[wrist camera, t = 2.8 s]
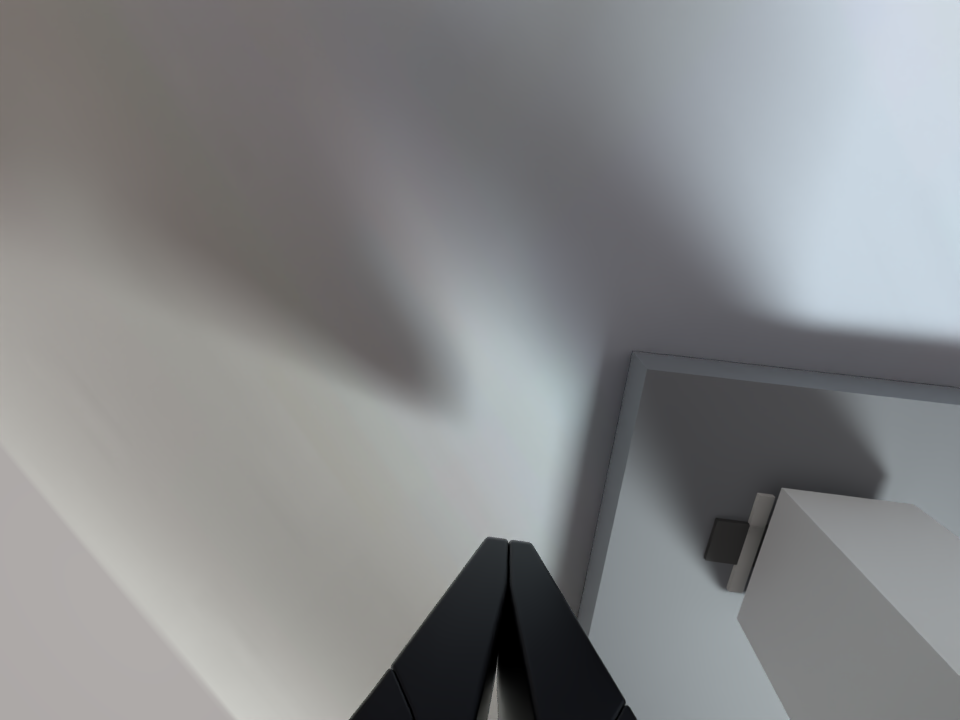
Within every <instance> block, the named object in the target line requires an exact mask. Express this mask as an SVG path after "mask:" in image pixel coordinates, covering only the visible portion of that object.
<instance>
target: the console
mask: <svg viewBox="0 0 960 720" xmlns="http://www.w3.org/2000/svg"><path fill="white" fill-rule="evenodd" d="M781 488H788V489H796V490H804V491H812V492H820V493H827V494H835V495H843V496H851V497H859V498H867V499H875V500H883V501H891V502H898V503H906V504H914V505H915V506H917V507H918V508H919V509H921V510H922V511H923V512H925V513H926V514H927V515H929V516H930V517H931V518H933V519H934V520H935V521H937V522H938V523H939V524H941V525H942V526H943V527H945V528H946V529H947V530H949V531H950V532H951V533H953V534H954V535H956V536H957V537H958V538H960V388H954V387H945V386H937V385H928V384H919V383H910V382H901V381H893V380H884V379H875V378H866V377H857V376H848V375H840V374H831V373H822V372H813V371H804V370H796V369H787V368H778V367H769V366H760V365H751V364H743V363H734V362H725V361H716V360H707V359H699V358H690V357H681V356H672V355H663V354H655V353H646V352H637V351H633V352H632V357H631V362H630V366H629V371H628V376H627V381H626V386H625V391H624V396H623V400H622V405H621V410H620V415H619V420H618V425H617V430H616V434H615V439H614V444H613V449H612V454H611V459H610V464H609V468H608V473H607V478H606V483H605V488H604V493H603V497H602V502H601V507H600V512H599V517H598V522H597V527H596V531H595V536H594V541H593V546H592V551H591V556H590V561H589V565H588V570H587V575H586V580H585V585H584V590H583V595H582V599H581V604H580V609H579V614H578V619H577V620H578V622H579V623H580V625H581V627H582V628H583V630H584V632H585V633H586V635H587V637H588V638H589V640H590V642H591V643H592V645H593V647H594V648H595V650H596V652H597V653H598V655H599V657H600V658H601V660H602V662H603V663H604V665H605V667H606V668H607V670H608V672H609V673H610V675H611V677H612V678H613V680H614V682H615V683H616V685H617V687H618V688H619V690H620V692H621V693H622V695H623V697H624V698H625V700H626V705H628V706H630V708H631V710H632V711H633V713H634V715H635V716H636V718H637V720H790V718H789V716H788V715H787V713H786V711H785V709H784V707H783V705H782V703H781V701H780V699H779V698H778V696H777V694H776V692H775V690H774V688H773V686H772V684H771V682H770V681H769V679H768V677H767V675H766V673H765V671H764V669H763V667H762V665H761V663H760V662H759V660H758V658H757V656H756V654H755V652H754V650H753V648H752V646H751V645H750V643H749V641H748V639H747V637H746V635H745V633H744V631H743V629H742V628H741V626H740V624H739V622H738V620H737V616H738V613H739V610H740V607H741V604H742V601H743V598H744V596H745V593H746V590H747V587H748V584H749V581H750V578H751V575H752V572H753V569H754V567H755V564H756V561H757V558H758V555H759V552H760V549H761V546H762V543H763V540H764V537H765V535H766V532H767V529H768V526H769V523H770V520H771V517H772V514H773V511H774V508H775V506H776V503H777V500H778V497H779V494H780V491H781Z"/></svg>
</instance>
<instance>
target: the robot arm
mask: <svg viewBox="0 0 960 720" xmlns="http://www.w3.org/2000/svg"><path fill="white" fill-rule="evenodd" d="M496 667H497V703H498V720H637V718H636V716H635V715H634V713H633V711H632V710H631V708H630V706H628V705H626V700H625V698H624V697H623V695H622V693H621V692H620V690H619V688H618V687H617V685H616V683H615V682H614V680H613V678H612V677H611V675H610V673H609V672H608V670H607V668H606V667H605V665H604V663H603V662H602V660H601V658H600V657H599V655H598V653H597V652H596V650H595V648H594V647H593V645H592V643H591V642H590V640H589V638H588V637H587V635H586V633H585V632H584V630H583V628H582V627H581V625H580V623H579V622H578V620H577V618H576V616H575V615H574V613H573V611H572V610H571V608H570V606H569V605H568V603H567V601H566V600H565V598H564V596H563V595H562V593H561V591H560V590H559V588H558V586H557V585H556V583H555V581H554V580H553V578H552V576H551V575H550V573H549V571H548V570H547V568H546V566H545V565H544V563H543V561H542V560H541V558H540V556H539V555H538V553H537V551H536V550H535V548H534V546H533V545H532V544H531V543H529V542H524V541H517V540H511V541H510V542H509V544H508V541H507V540H506V539H502V538H495V537H487V538H486V539H485V540H484V541H483V542H482V544H481V545H480V546H479V548H478V549H477V550H476V552H475V553H474V554H473V556H472V557H471V559H470V560H469V561H468V563H467V564H466V565H465V567H464V568H463V569H462V571H461V572H460V573H459V575H458V576H457V577H456V579H455V580H454V581H453V583H452V584H451V585H450V587H449V588H448V590H447V591H446V592H445V594H444V595H443V596H442V598H441V599H440V600H439V602H438V603H437V604H436V606H435V607H434V608H433V610H432V611H431V612H430V614H429V615H428V616H427V618H426V619H425V620H424V622H423V623H422V625H421V626H420V627H419V629H418V630H417V631H416V633H415V634H414V635H413V637H412V638H411V639H410V641H409V642H408V643H407V645H406V646H405V647H404V649H403V650H402V651H401V653H400V654H399V656H398V657H397V658H396V660H395V661H394V662H393V664H392V665H391V669H388V670H387V671H386V673H385V674H384V675H383V677H382V678H381V679H380V681H379V682H378V683H377V685H376V686H375V687H374V689H373V690H372V691H371V693H370V694H369V695H368V696H367V698H366V699H365V700H364V701H363V703H362V704H361V705H360V706H359V708H358V709H357V710H356V712H355V713H354V714H353V715H352V717H351V718H350V719H349V720H487V718H488V713H489V708H490V703H491V697H492V692H493V687H494V680H495V674H496Z"/></svg>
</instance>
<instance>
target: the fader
mask: <svg viewBox="0 0 960 720" xmlns="http://www.w3.org/2000/svg"><path fill="white" fill-rule="evenodd" d="M737 620H738V622H739V624H740V626H741V628H742V629H743V631H744V633H745V635H746V637H747V639H748V641H749V643H750V645H751V646H752V648H753V650H754V652H755V654H756V656H757V658H758V660H759V662H760V663H761V665H762V667H763V669H764V671H765V673H766V675H767V677H768V679H769V681H770V682H771V684H772V686H773V688H774V690H775V692H776V694H777V696H778V698H779V699H780V701H781V703H782V705H783V707H784V709H785V711H786V713H787V715H788V716H789V718H790V720H960V538H958V537H957V536H956V535H954V534H953V533H951V532H950V531H949V530H947V529H946V528H945V527H943V526H942V525H941V524H939V523H938V522H937V521H935V520H934V519H933V518H931V517H930V516H929V515H927V514H926V513H925V512H923V511H922V510H921V509H919V508H918V507H917V506H915V505H914V504H906V503H898V502H891V501H883V500H875V499H867V498H859V497H851V496H843V495H835V494H827V493H820V492H812V491H804V490H796V489H788V488H781V491H780V494H779V497H778V500H777V503H776V506H775V508H774V511H773V514H772V517H771V520H770V523H769V526H768V529H767V532H766V535H765V537H764V540H763V543H762V546H761V549H760V552H759V555H758V558H757V561H756V564H755V567H754V569H753V572H752V575H751V578H750V581H749V584H748V587H747V590H746V593H745V596H744V598H743V601H742V604H741V607H740V610H739V613H738V616H737Z"/></svg>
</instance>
